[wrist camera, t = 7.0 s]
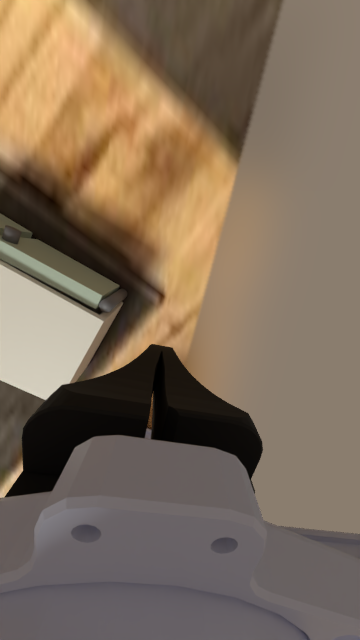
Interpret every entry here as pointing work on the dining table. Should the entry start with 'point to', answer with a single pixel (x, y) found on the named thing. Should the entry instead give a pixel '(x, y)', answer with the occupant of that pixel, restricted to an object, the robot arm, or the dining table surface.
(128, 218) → the dining table surface
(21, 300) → the cabinet
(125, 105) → the dining table surface
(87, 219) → the dining table surface
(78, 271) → the door
